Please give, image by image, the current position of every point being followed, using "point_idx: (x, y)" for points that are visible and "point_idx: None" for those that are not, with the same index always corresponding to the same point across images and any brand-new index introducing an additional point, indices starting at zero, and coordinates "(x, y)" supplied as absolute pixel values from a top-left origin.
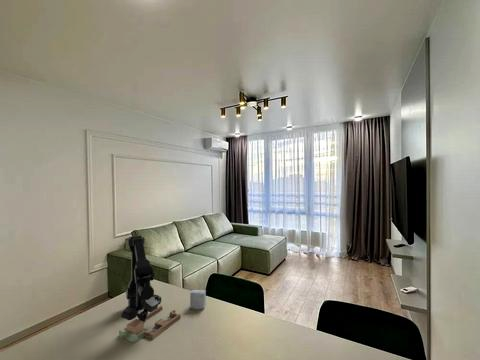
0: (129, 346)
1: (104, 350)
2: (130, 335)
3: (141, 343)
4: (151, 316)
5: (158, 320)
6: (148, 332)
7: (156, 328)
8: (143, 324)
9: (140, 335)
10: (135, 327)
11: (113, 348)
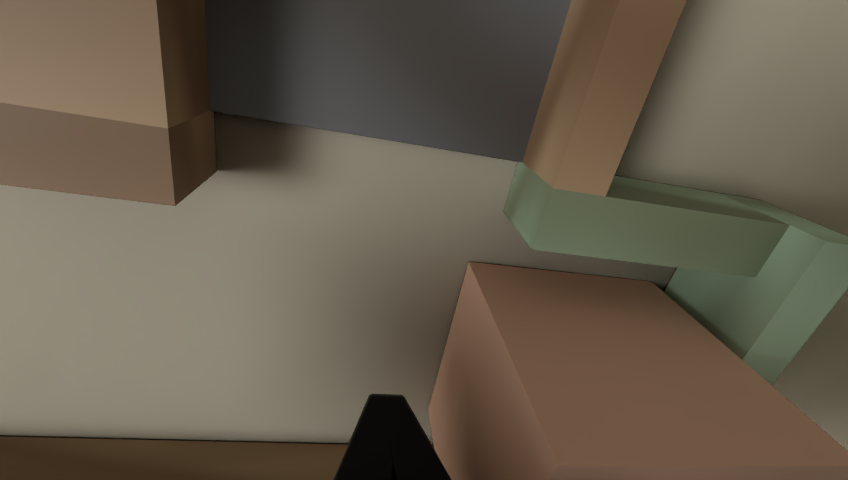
0: (833, 222)
1: (840, 423)
2: (776, 361)
3: (792, 66)
4: (1, 442)
5: (7, 176)
6: (629, 79)
7: (268, 64)
8: (523, 378)
9: (709, 207)
10: (812, 445)
11: (827, 374)
